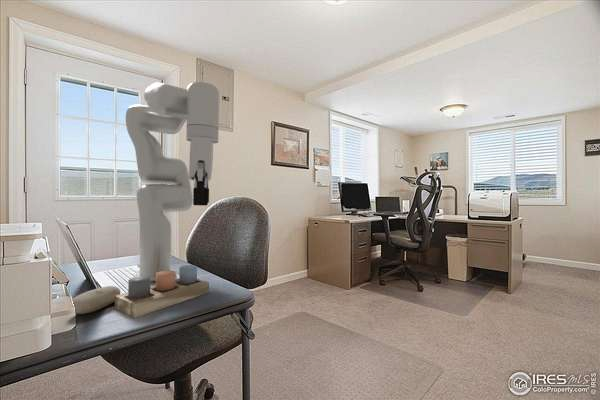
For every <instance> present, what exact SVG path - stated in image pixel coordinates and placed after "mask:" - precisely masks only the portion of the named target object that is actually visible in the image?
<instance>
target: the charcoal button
mask: <svg viewBox="0 0 600 400" xmlns="http://www.w3.org/2000/svg"><path fill="white" fill-rule="evenodd" d="M127 284H128V285H127V286H128V290H127V291H128V297H129V298H142V297H146V296H148V295H150V286H151V282H150V277H148V276H139V277H134V276H133V277H131V278H129V279H128V283H127Z"/></svg>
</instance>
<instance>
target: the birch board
mask: <svg viewBox="0 0 600 400" xmlns="http://www.w3.org/2000/svg"><path fill="white" fill-rule="evenodd" d="M208 293H210V282H209V281H206V280H203V279H200V278H197V281H196V282H193V283H187V284H184V283H180V282H179V278H175V288H173V289H169V290H157V289H156V284H153V285H150V295H148V296H146V297H142V298H129V297H128V292H124V293H120V294H119V295H116V296H115V301H114V309H117V310H118V311H121V312H123V313H124V314H127V315H129V316H131V317H133V318H135V319H136V318H139V317H142V316H145V315H148V314H150V313H153V312H156V311H159V310H162V309H165V308H167V307H170V306H173V305H176V304H179V303H182V302H184V301H188V300H190V299H191V300H192V299H194V298H196V297H199V296H202V295H205V294H208Z"/></svg>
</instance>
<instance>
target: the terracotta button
mask: <svg viewBox="0 0 600 400" xmlns="http://www.w3.org/2000/svg"><path fill="white" fill-rule="evenodd" d="M172 270H173V269H172ZM172 270H166V271H160V272H157V273H156V281H155V285H156V289H157V290H169V289H173V288H175V279H176V274H175V271H176V270H175V271H172Z"/></svg>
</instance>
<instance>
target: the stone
mask: <svg viewBox="0 0 600 400" xmlns="http://www.w3.org/2000/svg"><path fill="white" fill-rule="evenodd" d="M119 294H121V289H120V288H119V287H117V286H114V285H108V286H102V287H97V288H94V289H91V290H87V291H84V292H83V293H80V294H78V295H76V296H75V297H73V298H72V299H71V300H72V301H73V304H74V307H75V313H74V314H76V315H77V314H78V315H83V314H90V313H94V312H96V311H99V310H101V309H103V308H105V307H107V306H109V305H111V304H112V303H115V296H116V295H119Z"/></svg>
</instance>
